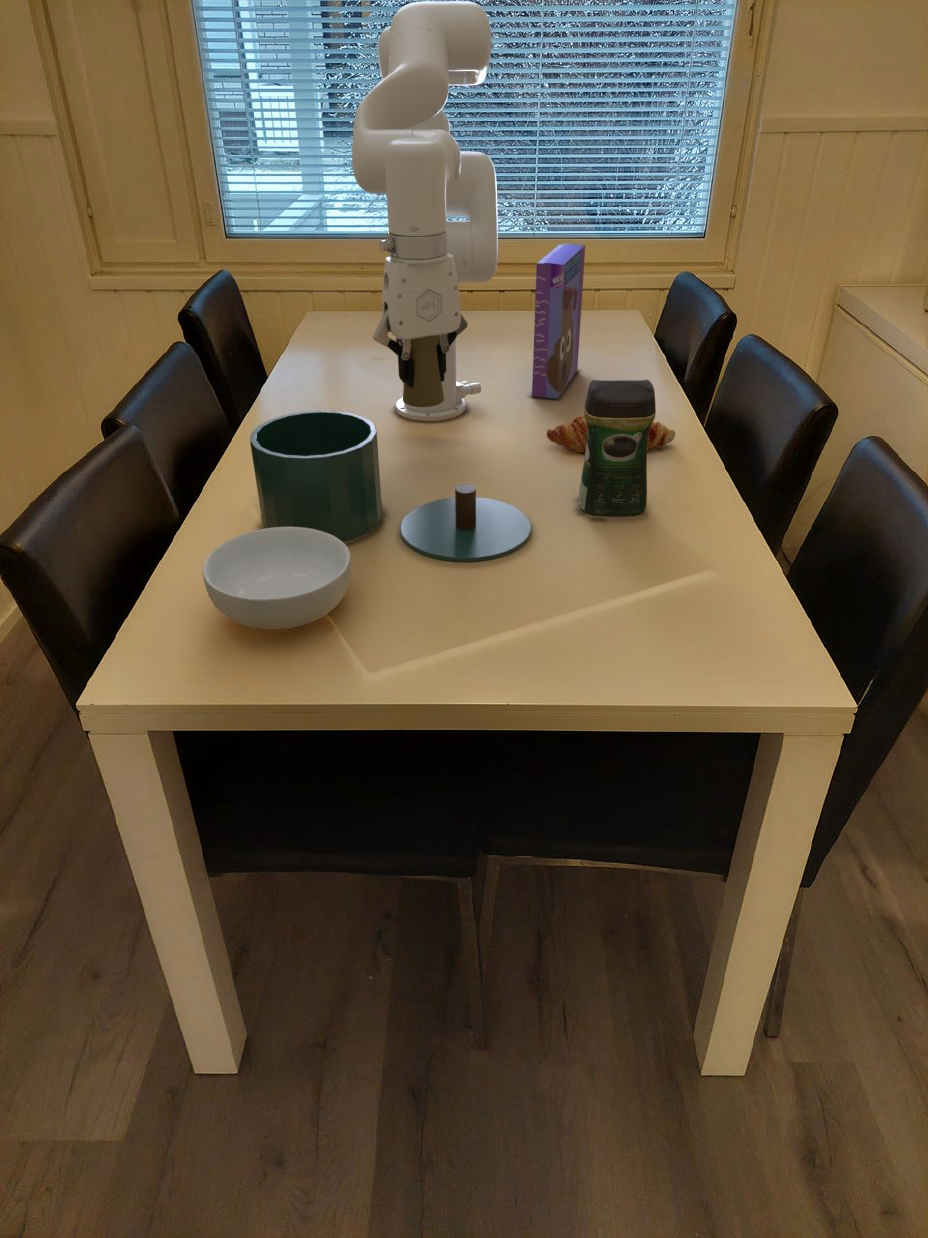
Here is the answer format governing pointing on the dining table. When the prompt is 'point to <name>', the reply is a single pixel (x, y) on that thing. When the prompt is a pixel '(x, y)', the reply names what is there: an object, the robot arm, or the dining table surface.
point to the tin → (318, 472)
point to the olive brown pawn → (424, 374)
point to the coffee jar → (616, 447)
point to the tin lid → (465, 528)
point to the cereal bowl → (278, 576)
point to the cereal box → (557, 319)
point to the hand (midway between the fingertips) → (422, 380)
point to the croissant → (577, 435)
